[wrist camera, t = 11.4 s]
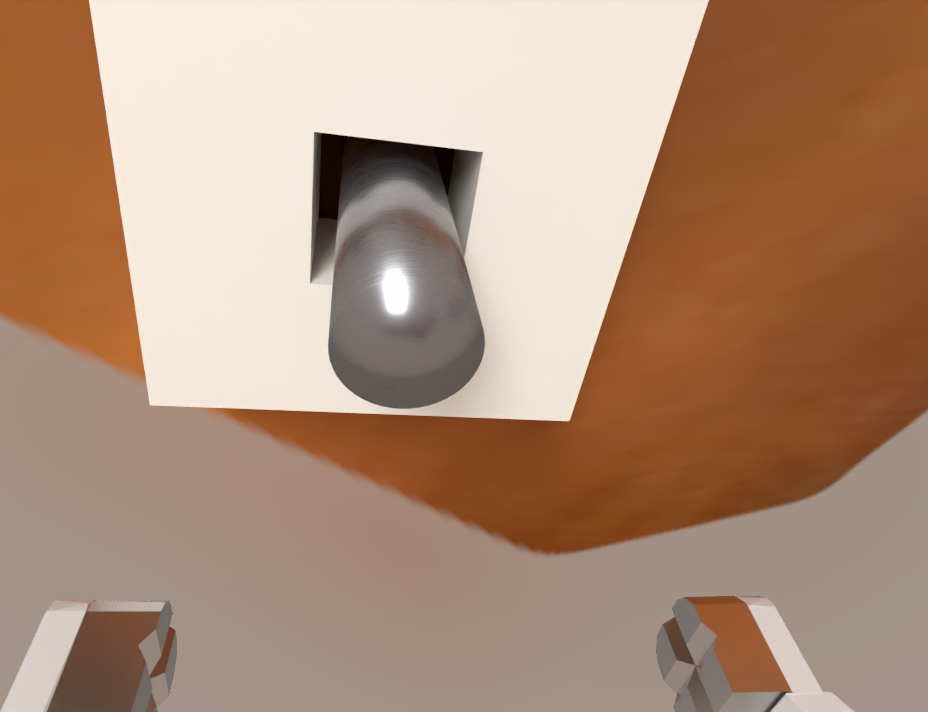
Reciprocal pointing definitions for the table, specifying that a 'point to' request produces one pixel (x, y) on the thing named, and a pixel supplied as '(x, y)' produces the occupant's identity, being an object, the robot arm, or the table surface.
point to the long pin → (400, 281)
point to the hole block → (392, 119)
